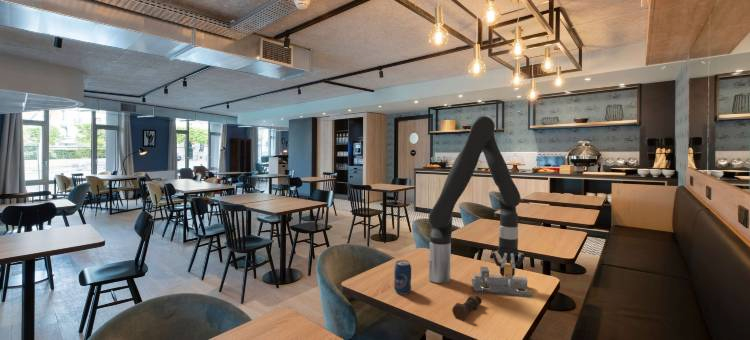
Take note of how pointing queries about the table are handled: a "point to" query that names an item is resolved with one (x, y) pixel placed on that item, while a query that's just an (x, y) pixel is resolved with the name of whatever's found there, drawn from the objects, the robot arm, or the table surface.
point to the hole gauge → (499, 284)
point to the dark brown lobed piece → (466, 307)
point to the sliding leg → (508, 272)
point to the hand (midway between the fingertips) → (507, 275)
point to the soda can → (402, 277)
